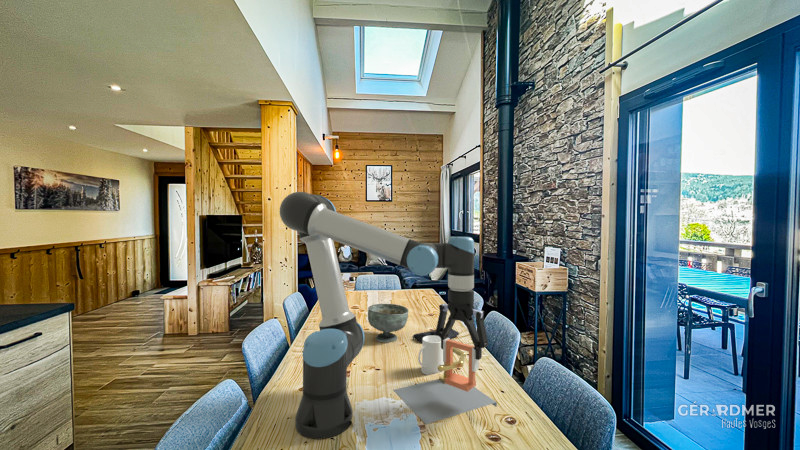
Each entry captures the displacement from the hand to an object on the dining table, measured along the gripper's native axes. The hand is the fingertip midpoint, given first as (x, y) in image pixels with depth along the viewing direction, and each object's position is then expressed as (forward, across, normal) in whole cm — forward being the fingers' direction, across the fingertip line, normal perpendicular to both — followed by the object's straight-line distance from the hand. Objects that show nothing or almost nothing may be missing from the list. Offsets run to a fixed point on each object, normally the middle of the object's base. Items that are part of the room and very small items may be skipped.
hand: (460, 364), depth 95 cm
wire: (+11, +7, -2) cm, 14 cm away
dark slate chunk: (+13, +40, -47) cm, 63 cm away
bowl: (+13, +56, -29) cm, 65 cm away
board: (+13, +6, -1) cm, 14 cm away
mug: (+13, +20, -13) cm, 28 cm away
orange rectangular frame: (+6, 0, 0) cm, 6 cm away
